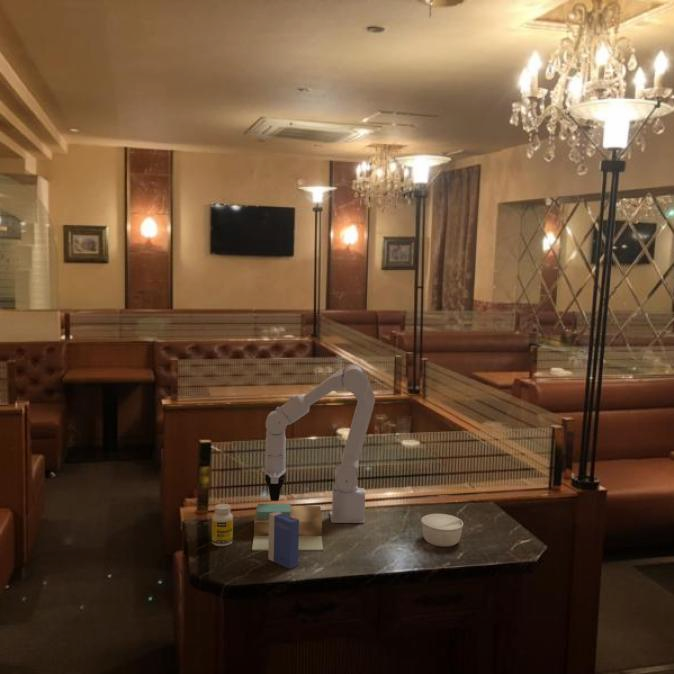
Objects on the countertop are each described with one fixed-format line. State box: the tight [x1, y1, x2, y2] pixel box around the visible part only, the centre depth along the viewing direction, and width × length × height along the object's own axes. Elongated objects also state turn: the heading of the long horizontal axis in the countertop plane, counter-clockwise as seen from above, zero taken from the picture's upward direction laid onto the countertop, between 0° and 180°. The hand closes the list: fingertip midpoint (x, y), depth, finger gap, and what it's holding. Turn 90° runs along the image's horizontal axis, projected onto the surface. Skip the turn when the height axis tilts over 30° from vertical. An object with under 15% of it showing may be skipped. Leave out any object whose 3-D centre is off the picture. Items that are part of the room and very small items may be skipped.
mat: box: [251, 535, 324, 552], centre depth 179 cm, size 18×8×1 cm, turn 93°
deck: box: [253, 505, 323, 537], centre depth 189 cm, size 18×12×4 cm, turn 93°
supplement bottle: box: [211, 503, 234, 547], centre depth 178 cm, size 5×5×10 cm
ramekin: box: [420, 513, 464, 548], centre depth 184 cm, size 11×11×5 cm
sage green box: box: [256, 503, 292, 519], centre depth 188 cm, size 9×6×2 cm, turn 93°
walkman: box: [267, 511, 299, 570], centre depth 167 cm, size 8×3×12 cm, turn 47°
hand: (274, 500), depth 196 cm, fingers closed
